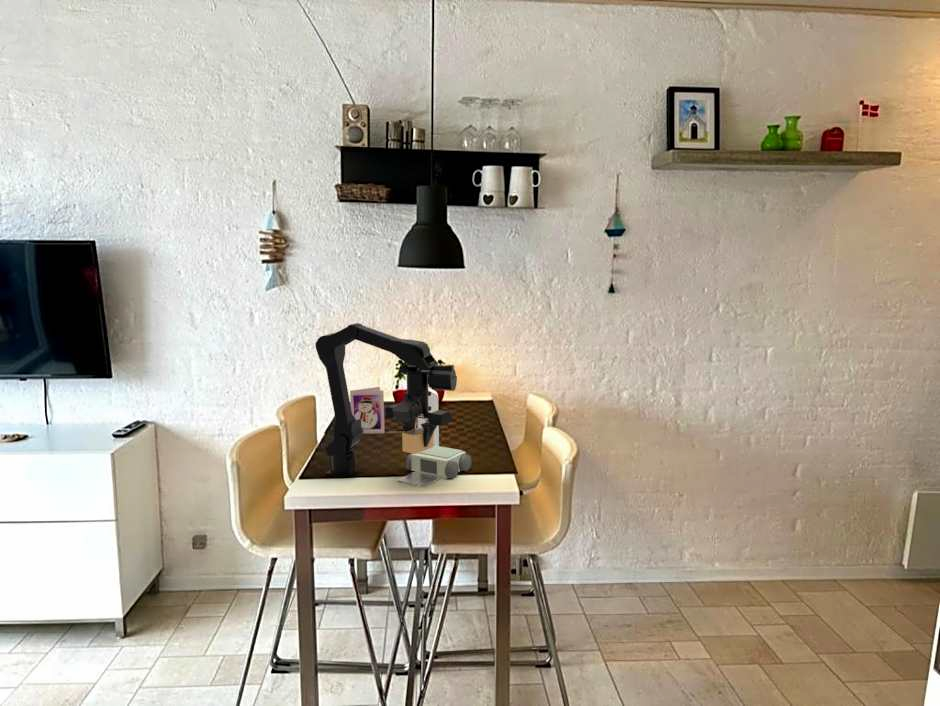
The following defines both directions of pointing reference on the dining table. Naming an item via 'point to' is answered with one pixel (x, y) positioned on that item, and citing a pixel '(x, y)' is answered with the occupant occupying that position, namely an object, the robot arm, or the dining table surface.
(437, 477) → the mounting plate
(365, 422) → the greeting card
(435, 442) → the milk
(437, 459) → the mower deck
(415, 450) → the block
